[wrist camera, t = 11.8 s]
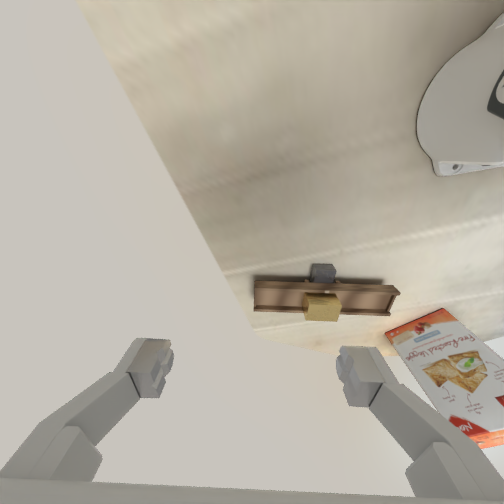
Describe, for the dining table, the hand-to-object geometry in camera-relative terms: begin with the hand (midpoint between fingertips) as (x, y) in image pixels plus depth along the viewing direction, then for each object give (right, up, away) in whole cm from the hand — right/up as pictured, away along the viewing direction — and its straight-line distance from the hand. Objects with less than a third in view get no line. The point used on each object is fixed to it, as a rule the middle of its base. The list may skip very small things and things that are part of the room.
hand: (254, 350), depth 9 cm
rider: (+13, -5, +31) cm, 34 cm away
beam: (+14, -4, +32) cm, 35 cm away
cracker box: (+40, -14, +39) cm, 58 cm away
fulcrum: (+14, -3, +34) cm, 37 cm away
